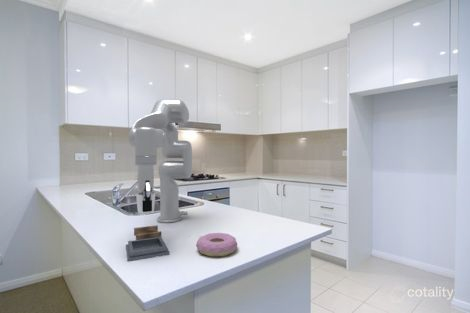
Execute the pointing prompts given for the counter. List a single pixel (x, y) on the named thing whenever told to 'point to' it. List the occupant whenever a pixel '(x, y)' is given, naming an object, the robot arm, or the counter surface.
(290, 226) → the counter surface
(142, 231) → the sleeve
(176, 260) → the counter surface
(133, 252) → the cradle
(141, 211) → the white cup
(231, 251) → the donut
